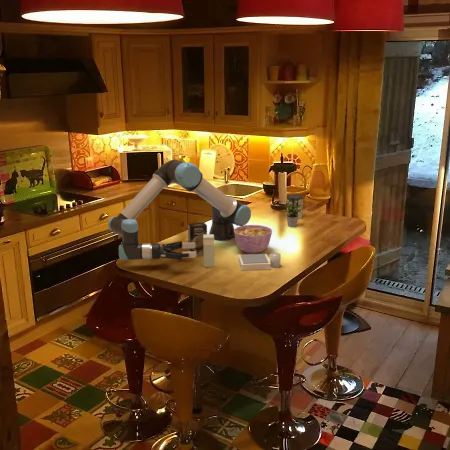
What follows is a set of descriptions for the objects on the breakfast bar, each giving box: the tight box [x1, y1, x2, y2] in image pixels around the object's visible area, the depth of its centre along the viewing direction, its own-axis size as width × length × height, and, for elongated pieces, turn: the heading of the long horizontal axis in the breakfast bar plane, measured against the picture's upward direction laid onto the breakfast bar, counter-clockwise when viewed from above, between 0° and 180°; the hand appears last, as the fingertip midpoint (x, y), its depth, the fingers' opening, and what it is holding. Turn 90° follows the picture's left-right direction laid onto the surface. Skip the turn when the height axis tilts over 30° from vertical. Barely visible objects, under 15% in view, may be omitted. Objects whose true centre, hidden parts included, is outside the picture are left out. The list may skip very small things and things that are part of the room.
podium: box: [238, 253, 272, 272], centre depth 263 cm, size 14×14×3 cm
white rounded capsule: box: [269, 252, 282, 269], centre depth 261 cm, size 5×5×6 cm
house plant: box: [282, 200, 304, 228], centre depth 322 cm, size 14×14×16 cm
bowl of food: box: [234, 224, 273, 254], centre depth 281 cm, size 20×20×12 cm
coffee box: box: [187, 222, 208, 257], centre depth 277 cm, size 9×6×16 cm
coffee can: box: [286, 193, 304, 220], centre depth 342 cm, size 10×10×14 cm
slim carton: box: [203, 233, 216, 268], centre depth 261 cm, size 5×5×15 cm
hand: (195, 249), depth 260 cm, fingers open, 13 cm apart
